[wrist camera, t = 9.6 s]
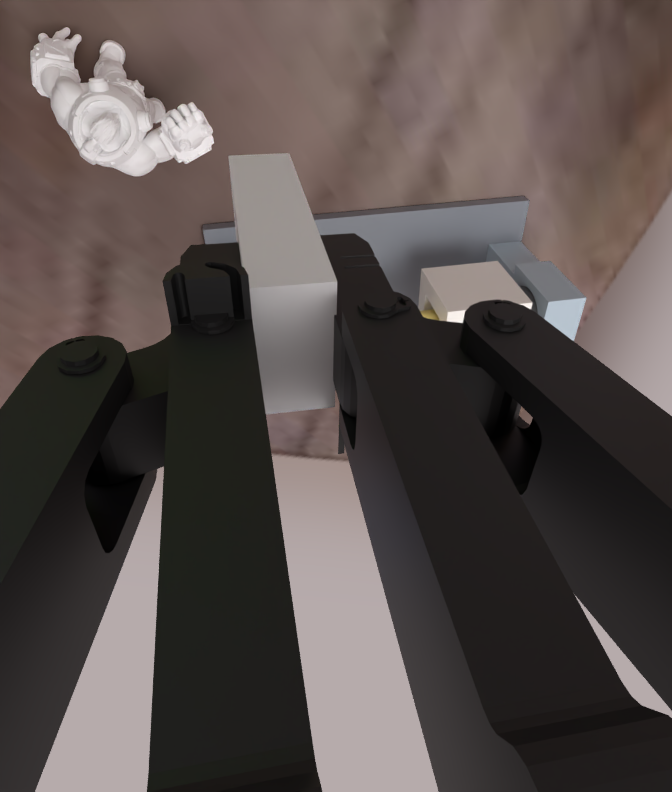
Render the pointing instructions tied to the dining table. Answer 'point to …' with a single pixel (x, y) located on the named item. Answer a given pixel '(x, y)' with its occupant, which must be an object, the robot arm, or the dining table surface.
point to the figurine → (114, 110)
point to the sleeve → (466, 288)
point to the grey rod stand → (451, 249)
